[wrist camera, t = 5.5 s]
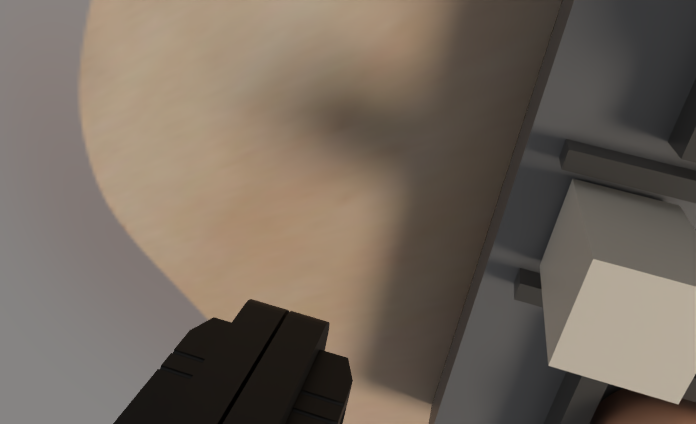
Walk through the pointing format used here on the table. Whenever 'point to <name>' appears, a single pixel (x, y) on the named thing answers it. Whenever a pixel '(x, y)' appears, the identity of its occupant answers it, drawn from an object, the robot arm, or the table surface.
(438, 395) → the switch panel
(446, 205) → the table surface
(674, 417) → the terracotta button
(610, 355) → the slide switch
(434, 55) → the table surface
